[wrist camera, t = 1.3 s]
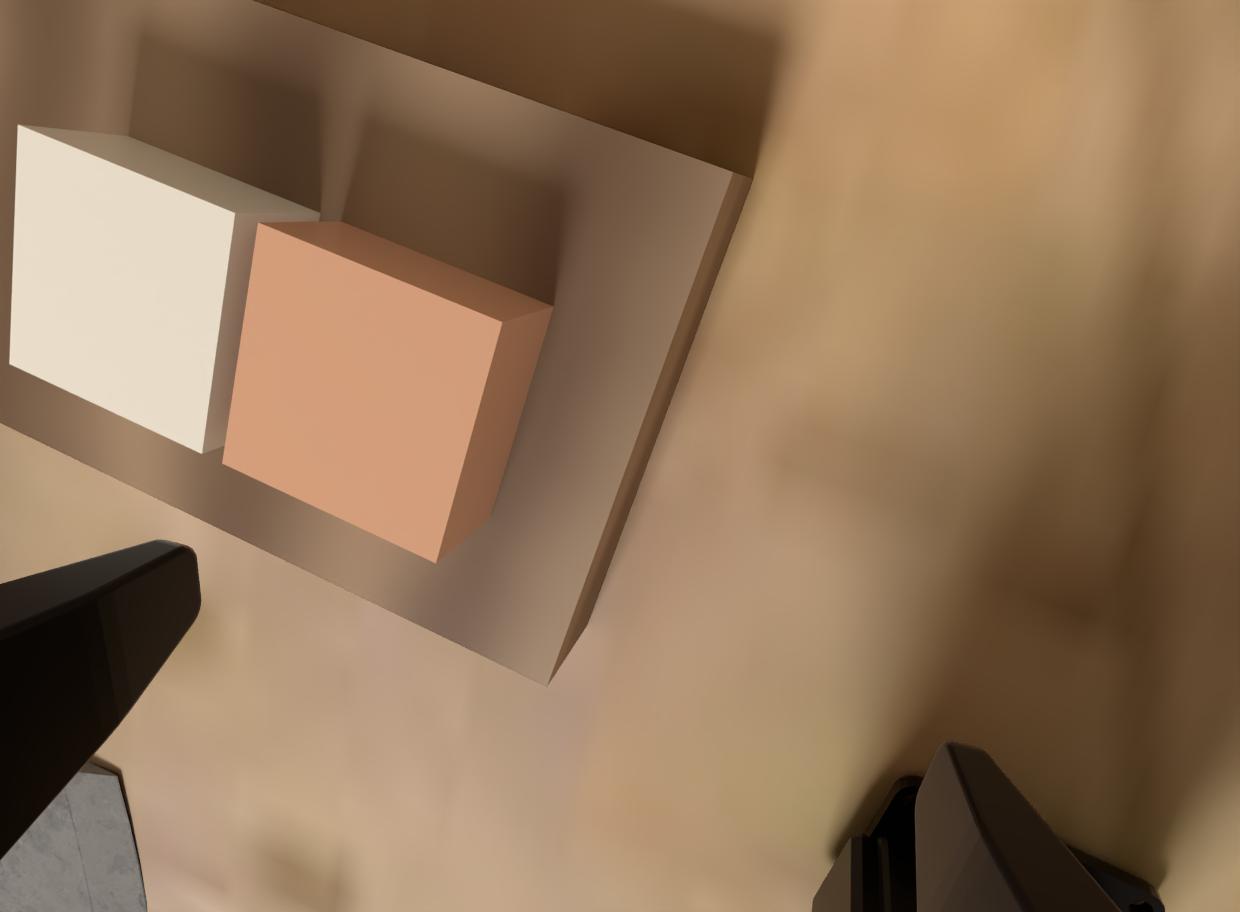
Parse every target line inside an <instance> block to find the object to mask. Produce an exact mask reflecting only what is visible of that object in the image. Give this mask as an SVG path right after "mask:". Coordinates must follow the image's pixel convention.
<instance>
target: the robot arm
mask: <svg viewBox="0 0 1240 912" xmlns="http://www.w3.org/2000/svg"><path fill="white" fill-rule="evenodd" d="M200 607H201V592H200V582H199V573H198V564H197V556H196V554H195V552H194V550H193V549H192V548H190V547H189V546H187V545H183V544H179V543H175V542H171V541H167V540H154V541H150V542H147V543H143V544H140V545H136V546H133V547H129V548H125V549H122V550H118V551H115V552H111V553H108V554H104V555H101V556H97V557H94V558H90V559H87V560H83V561H80V562H76V563H73V564H69V565H66V566H62V567H59V568H55V569H52V570H48V571H44V572H41V573H37V574H34V575H30V576H27V577H23V578H20V579H16V580H13V581H9V582H6V583H2V584H0V861H1V859H2V858H3V857H4V856H5V855H6V854H7V853H8V852H9V850H10V849H11V848H12V847H13V846H14V845H15V844H16V842H17V841H18V840H19V839H20V838H21V837H22V836H23V834H24V833H25V832H26V831H27V830H28V829H29V828H30V826H31V825H32V824H33V823H34V822H35V821H36V820H37V818H38V817H39V816H40V815H41V814H42V813H43V812H44V811H45V809H46V808H47V807H48V806H49V805H50V804H51V803H52V801H53V800H54V799H55V798H56V797H57V796H58V795H59V793H60V792H61V791H62V790H63V789H64V788H65V787H66V785H67V784H68V783H69V782H70V781H71V780H72V779H73V778H74V776H75V775H76V774H77V773H78V772H79V771H80V770H81V768H82V767H83V766H84V765H85V764H86V763H87V762H88V760H89V759H90V758H91V757H92V756H93V755H94V754H95V752H96V751H97V750H98V749H99V748H100V747H101V746H102V744H103V743H104V742H105V741H106V740H107V739H108V737H109V736H110V735H111V734H112V733H113V731H114V730H115V729H116V728H117V727H118V726H119V724H120V723H121V722H122V720H123V719H124V718H125V716H126V715H127V714H128V713H129V711H130V710H131V709H132V707H133V706H134V705H135V703H136V702H137V701H138V699H139V698H140V696H141V695H142V694H143V692H144V691H145V689H146V688H147V687H148V685H149V684H150V683H151V681H152V680H153V678H154V677H155V676H156V674H157V673H158V671H159V670H160V669H161V667H162V666H163V665H164V663H165V662H166V660H167V659H168V658H169V656H170V655H171V653H172V652H173V651H174V649H175V648H176V647H177V645H178V644H179V642H180V641H181V640H182V638H183V637H184V635H185V634H186V633H187V631H188V630H189V628H190V627H191V626H192V624H193V623H194V621H195V620H196V618H197V616H198V614H199V611H200ZM914 794H915V795H917V798H916V801H912V800H909V799H908V798H906V797H908V796H909V795H914ZM1134 901H1144V903H1143V904H1139V905H1134V904H1131V903H1132V902H1134ZM812 912H1165V907H1164V905H1163V902H1162V900H1161V898H1160V896H1159V893H1158V892H1157V890H1156V889H1155V887H1154V886H1152V885H1151V884H1149V883H1148V882H1146V881H1144V880H1142V879H1139V878H1137V877H1135V876H1133V875H1131V874H1129V873H1127V872H1124V871H1122V870H1120V869H1118V868H1116V867H1114V866H1111V865H1109V864H1107V863H1105V862H1103V861H1101V860H1099V859H1096V858H1094V857H1092V856H1090V855H1088V854H1086V853H1084V852H1081V851H1079V850H1077V849H1075V848H1073V847H1071V846H1068V845H1066V844H1064V843H1063V842H1062V841H1061V840H1060V838H1059V837H1058V836H1057V835H1056V834H1055V833H1054V831H1053V830H1052V829H1051V828H1050V827H1049V825H1048V824H1047V823H1046V822H1045V821H1044V820H1043V818H1042V817H1041V816H1040V815H1039V814H1038V812H1037V811H1036V810H1035V809H1034V808H1033V807H1032V805H1031V804H1030V803H1029V802H1028V801H1027V799H1026V798H1025V797H1024V796H1023V795H1022V794H1021V792H1020V791H1019V790H1018V789H1017V788H1016V787H1015V785H1014V784H1013V783H1012V782H1011V781H1010V779H1009V778H1008V777H1007V776H1006V775H1005V774H1004V772H1003V771H1002V770H1001V769H1000V768H999V766H998V765H997V764H996V763H995V762H994V761H993V759H992V758H991V757H990V756H989V755H988V754H987V753H986V752H985V751H984V750H982V749H980V748H978V747H975V746H971V745H967V744H963V743H959V742H955V741H950V740H949V741H945V742H943V743H942V744H941V745H940V746H939V748H938V749H937V751H936V754H935V756H934V758H933V760H932V762H931V764H930V767H929V769H928V771H927V773H926V775H925V778H922V777H918V776H905V777H903V778H900V779H899V780H898V781H897V782H896V783H895V784H894V786H893V787H892V789H891V791H890V792H889V794H888V796H887V797H886V799H885V801H884V802H883V804H882V806H881V807H880V809H879V811H878V812H877V814H876V816H875V817H874V819H873V821H872V822H871V824H870V826H869V827H868V829H867V830H866V832H865V834H862V833H858V834H856V835H854V836H852V837H850V838H849V840H848V841H847V843H846V845H845V846H844V848H843V850H842V851H841V853H840V855H839V856H838V858H837V860H836V862H835V863H834V865H833V867H832V868H831V870H830V872H829V873H828V875H827V877H826V878H825V880H824V882H823V883H822V885H821V887H820V888H819V890H818V892H817V893H816V895H815V897H814V899H813V907H812Z"/></svg>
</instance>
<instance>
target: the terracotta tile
mask: <svg viewBox="0 0 1240 912" xmlns="http://www.w3.org/2000/svg"><path fill="white" fill-rule="evenodd" d="M553 307H554V306H551V305H549V304H546V303H544V302H541V301H539V300H536V299H534V298H531V297H529V296H526V295H524V294H521V293H519V292H516V291H514V290H511V289H509V288H506V287H504V286H501V285H499V284H496V283H494V282H491V281H489V280H486V279H484V278H481V277H479V276H476V275H474V274H471V273H469V272H466V271H464V270H461V269H459V268H456V267H454V266H451V265H449V264H446V263H444V262H441V261H439V260H436V259H434V258H431V257H429V256H426V255H424V254H421V253H419V252H416V251H414V250H411V249H409V248H406V247H404V246H401V245H399V244H396V243H394V242H391V241H389V240H386V239H384V238H381V237H379V236H376V235H374V234H371V233H369V232H366V231H364V230H361V229H359V228H356V227H354V226H351V225H349V224H346V223H344V222H341V221H327V222H258V226H257V233H256V240H255V247H254V253H253V260H252V267H251V273H250V280H249V287H248V294H247V300H246V307H245V314H244V320H243V327H242V334H241V341H240V347H239V354H238V361H237V367H236V374H235V381H234V388H233V394H232V401H231V408H230V414H229V421H228V428H227V434H226V441H225V448H224V455H223V461H222V464H224V465H226V466H229V467H231V468H233V469H235V470H237V471H239V472H241V473H244V474H246V475H248V476H250V477H252V478H254V479H256V480H259V481H261V482H263V483H265V484H267V485H269V486H271V487H274V488H276V489H278V490H280V491H282V492H284V493H286V494H289V495H291V496H293V497H295V498H297V499H299V500H301V501H303V502H306V503H308V504H310V505H312V506H314V507H316V508H318V509H321V510H323V511H325V512H327V513H329V514H331V515H333V516H336V517H338V518H340V519H342V520H344V521H346V522H348V523H351V524H353V525H355V526H357V527H359V528H361V529H363V530H365V531H368V532H370V533H372V534H374V535H376V536H378V537H380V538H383V539H385V540H387V541H389V542H391V543H393V544H395V545H398V546H400V547H402V548H404V549H406V550H408V551H410V552H413V553H415V554H417V555H419V556H421V557H423V558H425V559H428V560H430V561H432V562H434V563H437V562H438V561H439V560H441V559H442V558H443V557H444V556H445V555H447V554H448V553H449V552H450V551H451V550H453V549H454V548H455V547H456V546H457V545H459V544H460V543H461V542H462V541H463V540H465V539H466V538H467V537H468V536H469V535H471V534H472V533H473V532H474V531H475V530H477V529H478V528H479V527H480V526H481V525H483V524H484V523H485V522H486V521H487V520H489V519H490V518H491V515H492V511H493V508H494V505H495V501H496V498H497V495H498V491H499V488H500V485H501V481H502V478H503V474H504V471H505V468H506V464H507V461H508V458H509V454H510V451H511V448H512V444H513V441H514V438H515V434H516V431H517V428H518V424H519V421H520V418H521V414H522V411H523V408H524V404H525V401H526V397H527V394H528V391H529V387H530V384H531V381H532V377H533V374H534V371H535V367H536V364H537V361H538V357H539V354H540V351H541V347H542V344H543V341H544V337H545V334H546V331H547V327H548V324H549V320H550V317H551V314H552V310H553Z"/></svg>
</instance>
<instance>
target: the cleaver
mask: <svg viewBox="0 0 1240 912" xmlns="http://www.w3.org/2000/svg"><path fill="white" fill-rule="evenodd" d="M0 912H147V901H146V896H145V891H144V886H143V881H142V876H141V870H140V865H139V861H138V857H137V853H136V848H135V844H134V840H133V836H132V832H131V827H130V823H129V819H128V815H127V812H126V808H125V804H124V800H123V796H122V793H121V789H120V785H119V781H118V777H117V775H115V774H113V773H111V772H109V771H107V770H105V769H103V768H101V767H99V766H97V765H95V764H93V763H90V762H87V763H86V764H85V765H84V766H83V767H82V768H81V770H80V771H79V772H78V773H77V774H76V775H75V776H74V778H73V779H72V780H71V781H70V782H69V783H68V784H67V785H66V787H65V788H64V789H63V790H62V791H61V792H60V793H59V795H58V796H57V797H56V798H55V799H54V800H53V801H52V803H51V804H50V805H49V806H48V807H47V808H46V809H45V811H44V812H43V813H42V814H41V815H40V816H39V817H38V818H37V820H36V821H35V822H34V823H33V824H32V825H31V826H30V828H29V829H28V830H27V831H26V832H25V833H24V834H23V836H22V837H21V838H20V839H19V840H18V841H17V842H16V844H15V845H14V846H13V847H12V848H11V849H10V850H9V852H8V853H7V854H6V855H5V856H4V857H3V858H2V859H1V861H0Z"/></svg>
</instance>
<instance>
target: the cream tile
mask: <svg viewBox="0 0 1240 912" xmlns="http://www.w3.org/2000/svg"><path fill="white" fill-rule="evenodd" d="M320 214H321V213H319V212H316V211H314V210H311V209H309V208H306V207H304V206H301V205H299V204H296V203H294V202H291V201H289V200H286V199H284V198H281V197H279V196H276V195H274V194H271V193H269V192H266V191H264V190H261V189H259V188H256V187H254V186H251V185H249V184H246V183H244V182H241V181H239V180H236V179H234V178H231V177H229V176H226V175H224V174H221V173H219V172H216V171H214V170H211V169H209V168H206V167H204V166H201V165H199V164H196V163H194V162H191V161H189V160H186V159H184V158H181V157H179V156H176V155H174V154H171V153H169V152H166V151H164V150H161V149H159V148H156V147H154V146H151V145H149V144H146V143H144V142H141V141H139V140H136V139H134V138H131V137H129V136H122V135H112V134H103V133H94V132H84V131H75V130H65V129H56V128H47V127H37V126H28V125H18V132H17V161H16V189H15V217H14V246H13V274H12V303H11V331H10V360H9V364H10V365H13V366H15V367H17V368H19V369H21V370H23V371H25V372H28V373H30V374H32V375H34V376H36V377H38V378H40V379H43V380H45V381H47V382H49V383H51V384H53V385H55V386H58V387H60V388H62V389H64V390H66V391H68V392H70V393H73V394H75V395H77V396H79V397H81V398H83V399H85V400H87V401H90V402H92V403H94V404H96V405H98V406H100V407H102V408H105V409H107V410H109V411H111V412H113V413H115V414H117V415H120V416H122V417H124V418H126V419H128V420H130V421H132V422H135V423H137V424H139V425H141V426H143V427H145V428H147V429H149V430H152V431H154V432H156V433H158V434H160V435H162V436H164V437H167V438H169V439H171V440H173V441H175V442H177V443H179V444H182V445H184V446H186V447H188V448H190V449H192V450H194V451H197V452H199V453H201V454H203V453H206V452H209V451H211V450H214V449H217V448H220V447H222V446H225V441H226V434H227V428H228V421H229V414H230V408H231V401H232V394H233V388H234V381H235V374H236V367H237V361H238V354H239V347H240V341H241V334H242V327H243V320H244V314H245V307H246V300H247V294H248V287H249V280H250V273H251V267H252V260H253V253H254V247H255V240H256V233H257V226H258V222H319V219H320Z"/></svg>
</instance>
